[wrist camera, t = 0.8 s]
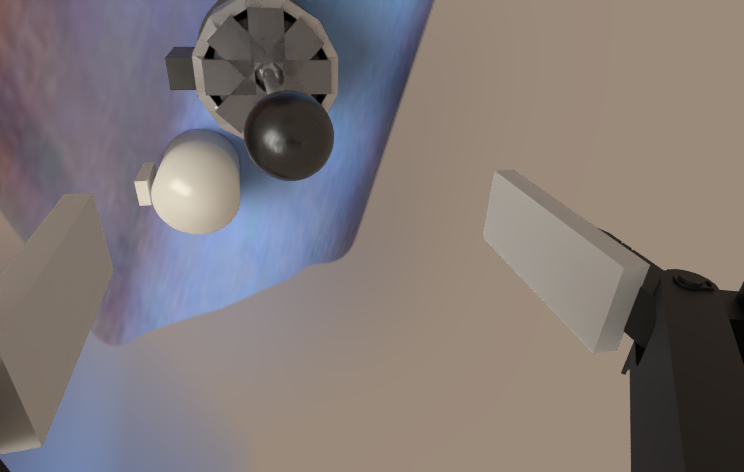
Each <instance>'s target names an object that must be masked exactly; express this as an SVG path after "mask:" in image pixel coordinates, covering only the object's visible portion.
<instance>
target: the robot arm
mask: <svg viewBox="0 0 744 472" xmlns="http://www.w3.org/2000/svg"><path fill="white" fill-rule="evenodd" d="M483 238H484V239H485V240H486V241H487V242H488V243H489V244H490V245H491V246H492V248H493V249H494V250H496V252H497V253H498V254H499V255H500V256H501V257H502V258H503V259H504V260H505V261H506V262H507V263H508V264H509V265H510V266H511V267H512V269H513V270H514V271H515V272H516V273H517V274H518V275H519V276H520V277H521V278H522V279H523V280H524V281H525V282H526V283H527V284H528V286H529V287H531V289H532V290H533V291H534V292H535V293H536V294H537V295H538V296H539V297H540V298H541V299H542V300H543V301H544V302H545V303H546V305H547V306H548V307H549V308H550V309H551V310H552V311H553V312H554V313H555V314H556V315H557V316H558V317H559V318H560V319H561V320H562V321H563V322H564V323H565V324H566V326H567V327H568V328H569V329H570V330H571V331H572V332H573V333H574V334H575V335H576V336H577V337H578V338H579V339H580V340H581V341H582V343H583V344H584V345H585V346H586V347H587V348H588V349H589V350H590V351H591V352H592V353H593V354H596V353H602V352H607V351H613V350H617V349H618V346H619V344H620V341H621V339H622V336H623V333H624V332H625V333H626V334H628V335H629V336H630V337H631V338H632V339H633V340H634V342H633V345H632V347H631V350H630V352H629V355H628V357H627V360H626V362H625V365H624V367H623V369H622V372H621V373H622V374H626V372H627V370H629V369H630V423H631V472H744V282H743V284H742V286H741V289H740V290H739V292H738V291H727V290H726V291H725V290H719V289H718V287H717V286H716V285H715V284H714V283H713V282H711V281H710V280H709V279H707V278H705V277H703V276H701V275H699V274H696V273H692V272H689V271H685V270H678V269H671V270H669V269H668V270H666V271H664V270H662V269H660V268H659V267H658V266H656V265H655V264H654V263H652V262H651V261H649V260H648V259H646V258H645V257H643V256H642V255H640V254H639V253H638V252H636V251H635V250H631V248H630V247H629V246H627V245H626V244H624V243H621V241H620V240H619V239H617V238H616V237H614V236H613V235H611V234H610V233H608V232H606V231H603V230H601V229H599V228H597V227H595V226H594V225H592V224H591V223H589V222H587V221H586V220H585V219H583V218H582V217H581V216H579V215H578V214H576V213H575V212H574V211H572V210H571V209H569V208H567V207H566V206H565V205H563V204H562V203H561V202H559V201H558V200H556V199H555V198H553V197H552V196H551V195H549V194H548V193H546V192H545V191H543V190H542V189H541V188H539V187H538V186H536V185H535V184H533V183H532V182H531V181H529V180H528V179H526V178H525V177H523V176H522V175H520V174H519V173H518V172H516V171H515V170H499V171H495V172H494V178H493V183H492V188H491V194H490V200H489V206H488V211H487V216H486V222H485V228H484V233H483ZM113 272H114V270H113V266H112V262H111V259H110V255H109V251H108V247H107V244H106V240H105V236H104V232H103V229H102V225H101V221H100V217H99V214H98V210H97V206H96V202H95V199H94V195H93V193H82V194H64V195H63V196H62V197H61V199H60V200H59V201H58V203H57V204H56V205H55V206H54V208H53V209H52V210H51V212H50V213H49V214H48V215H47V217H46V218H45V219H44V220H43V222H42V223H41V224H40V226H39V227H38V228H37V229H36V231H35V232H34V233H33V235H32V236H31V237H30V238H29V240H28V241H27V242H26V244H25V245H24V246H23V247H22V249H21V250H20V251H19V253H18V254H17V255H16V256H15V258H14V259H13V260H12V261H11V263H10V264H9V265H8V267H7V268H6V269H5V270H4V272H3V273H2V274H1V276H0V454H3V453H9V452H14V451H21V450H26V449H32V448H39V447H42V446H43V443H44V441H45V438H46V436H47V433H48V431H49V429H50V426H51V424H52V421H53V419H54V416H55V414H56V411H57V409H58V406H59V404H60V401H61V399H62V397H63V394H64V392H65V389H66V387H67V385H68V382H69V380H70V377H71V375H72V372H73V370H74V367H75V365H76V363H77V360H78V358H79V355H80V353H81V350H82V348H83V345H84V343H85V341H86V338H87V336H88V333H89V331H90V328H91V326H92V323H93V321H94V319H95V316H96V314H97V311H98V309H99V306H100V304H101V301H102V299H103V297H104V294H105V292H106V289H107V287H108V284H109V282H110V279H111V277H112V275H113ZM0 472H10V471H9V470H8V468H7V467H6V466H5V465H4V463H3V462H2V461H1V459H0Z"/></svg>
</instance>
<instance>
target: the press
mask: <svg viewBox="0 0 744 472" xmlns="http://www.w3.org/2000/svg"><path fill="white" fill-rule="evenodd" d="M247 17H248V29H249V32H248V31H247V30H246V29H245V28H244V27H242V26H241V25H240V24H239V23H238V21H240V20H242V19H244V18H247ZM284 20H286V21H288V22H290V23H292V25H291V26H290V27H289V28H288V29H287V30H286V31H285V32H284ZM215 50H216V51H217V52H218V53H219V54H220V55H221V56H222V57H223V58H213V57H214V52H215ZM316 53H317V54H318V57H319V59H311V58H312V57H313V56H314V55H315V54H316ZM165 59H166V65H167V72H168V78H169V84H170V90H197V95H198V98H199V99H200V100H201V102H202V103H203V104H204V106H205V107H206V108H207V110H208V111H209V112H210V114H211V115H212V117H213V118H214V119H215V121H216V122H217V123H218V125H219V126H220V127H222V129H224V130H226V131H228V132H230V133H232V134H234V135H236V136H238V137H240V138H242V139H244V125H245V121H246V118H247V116H248V113H249V112H250V110H251V108H252V107H253V106H254V105H255V104H256V103H257V102H258V101H259V100H260V99H261V98H263V97H264V96H266V95H268V94H267V91H266V90H263V89H262V88H261V87H260V86H259V85H258V84H257V83H256V82H255V71H256V70H257V69H258V67H259V66H260V65H261V64H262V63H275V64H276V65H277V66H278V67H279V68H280V69H281V70H282V71H283V82H282V84H281V85H280V88H281V90H293V91H299V92H302V93H305V94H307V95H309V96H311V97H312V98H314V97H313V96H312V95H311V94H318V95H317V97H316V99H315V98H314V99H315V100H316V101H317V102H318V103H320V104H321V106H322V107H323V108H324V109H325V110H326V112H327V113H328V111H329V110H330V108H331V106H332V104H333V102H334V101H335V99H336V97H337V94H338V55H337V53H336V51H335V49H334V47H333V45H332V44H331V42H330V40H329V38H328V36H327V34H326V32H325V30H324V28H323V26H322V25H321V23H320V21H319V20H318V19H316V18H315V17H313V16H312V15H310V14H309V13H307V12H306V11H305V10H304V9H303V8H302V7H301V6H300V5H299V4H297V3H296V2H295V1H294V0H219V1H218V2H217V3H216V4H215V5H214V6H213V7H212V8H211V9H210V11H209V12H208V13H207V15H206V17H205V19H204V20H203V22H202V25H201V28H200V31H199V36H198V42H197V44H196V47H174V48H173V49H172V50H171V51H170V53H169V54H168V55H167V56H166V57H165ZM219 95H227V97H226V98H225V99H224V100H223V101H222V99H221V98H220V96H219Z"/></svg>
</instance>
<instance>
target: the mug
mask: <svg viewBox="0 0 744 472" xmlns="http://www.w3.org/2000/svg"><path fill="white" fill-rule="evenodd" d="M134 182H135V187H136V191H137V196H138V200H139V205H140V206H143V205H151V204H152V202H153V206H154V208H155V210H156V212H157V213H158V215H159V216H160V217H161V219H162V220H163V221H165V222H166V223H167V224H168V225H170V226H171V227H173V228H175V229H177V230H179V231H182V232H185V233H189V234H208V233H212V232H215V231H218V230H220V229H222V228H223V227H225V226H226V225H227V224H229V223H230V222H231V221H232V219H233V218H234V217H235V215H236V214H237V211H238V209H239V205H240V167H239V157H238V154H237V152H236V150H235V148H234V147H233V145H232V144H231V143H230V142H229V141H228V140H227V139H226V138H225V137H223V136H222V135H220V134H218V133H216V132H214V131H210V130H206V129H192V130H188V131H185V132H183V133H181V134H179V135H178V136H176V137H175V138H174V139H173V140H172V141H171V142H170V143H169V145H168V147H167V149H166V152H165V154H164V157H163V159H162V162H161V164H160V167H159V169H158V172H157V173H156V168H155V162H149V163H143V165H142V167H141V169H140V171H139V173H138V175H137V177H136V179H135V181H134Z"/></svg>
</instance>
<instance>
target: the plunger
mask: <svg viewBox="0 0 744 472" xmlns="http://www.w3.org/2000/svg"><path fill="white" fill-rule="evenodd" d="M238 23H239V24H240V25H241V26H242V27H244V28H245V29H246V30H247V31H248V32H249V29H248V17H247V18H244V19H242V20H240V21H238ZM291 25H292V23H290V22H288V21H286V20H284V32H285V31H286V30H287V29H288V28H289V27H290V26H291ZM213 58H223V57H222V56H221V55H220V54H219V53H218V52H217V51H216V50H215V52H214V57H213ZM311 59H319V57H318V54H317V53H316V54H315V55H314V56H313V57H312V58H311ZM255 82H256V83H257V84H258V85H259V86H260V87H261V88H262V89H263V90H266V91H267V94H268V95H266V96H264V97H263V98H261V99H260V100H259V101H258V102H257V103H256V104H255V105H254V106H253V107H252V108H251V110H250V112H249V113H248V116H247V118H246V121H245V125H244V142H245V146H246V150H247V152H248V154H249V156H250V158H251V160H252V161H253V162H254V164H255V165H256V166H257V167H258V168H259V169H260V170H261V171H263V172H264V173H265V174H267V175H269V176H271V177H273V178H276V179H280V180H285V181H296V180H301V179H305V178H307V177H310V176H312V175H313V174H315V173H316V172H318V171H319V170H320V169H321V168H322V167H323V166H324V165H325V163H326V162H327V160H328V158H329V156H330V154H331V152H332V148H333V143H334V131H333V126H332V123H331V120H330V118H329V116H328V114H327V112H326V110H325V109H324V108H323V107H322V106H321V104H320V103H318V102H317V101H316V100H315V99H316V97H317V95H318V94H311V95H312V96H313V97H314V98H315V99H314V98H312V97H311V96H309V95H307V94H305V93H302V92H299V91H293V90H281V88H280V85H281V84H282V82H283V71H282V70H281V69H280V68H279V67H278V66H277V65H276V64H275V63H262V64H261V65H260V66H259V67H258V69H257V70H256V71H255ZM219 96H220V98H221V99H222V101H223V100H224V99H225V98H226V97H227V95H219Z"/></svg>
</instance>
